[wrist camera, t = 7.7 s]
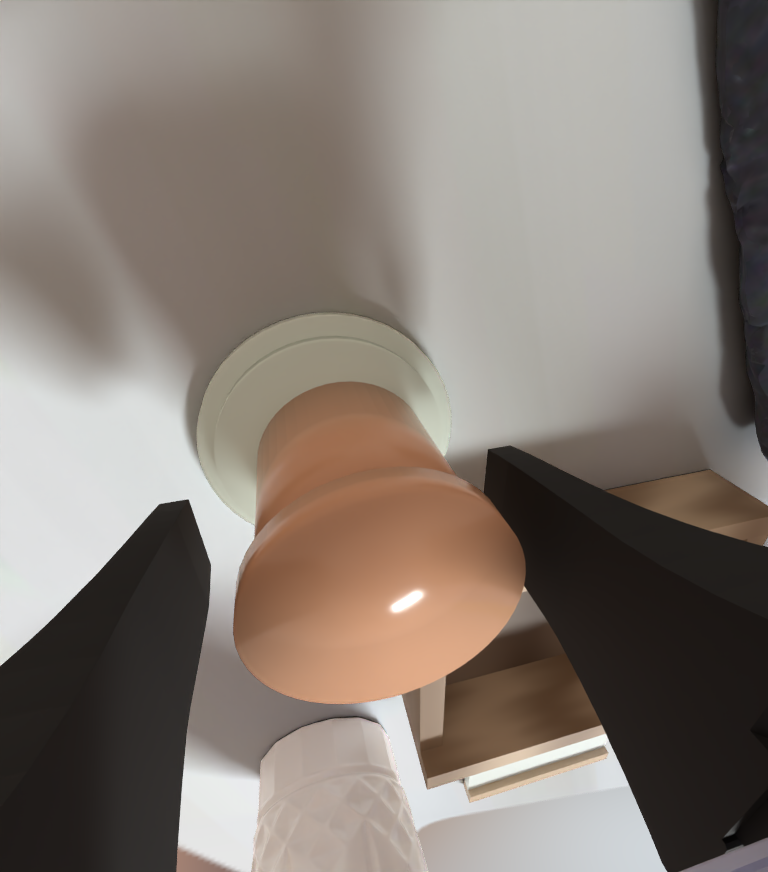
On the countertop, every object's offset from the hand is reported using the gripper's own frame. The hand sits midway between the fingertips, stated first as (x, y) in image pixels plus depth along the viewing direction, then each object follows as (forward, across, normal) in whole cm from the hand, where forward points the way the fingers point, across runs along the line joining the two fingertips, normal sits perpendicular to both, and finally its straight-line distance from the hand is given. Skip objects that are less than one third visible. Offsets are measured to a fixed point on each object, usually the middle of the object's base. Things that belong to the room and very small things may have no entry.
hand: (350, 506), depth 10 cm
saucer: (+3, 0, 0) cm, 4 cm away
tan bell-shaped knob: (+2, 0, 0) cm, 3 cm away
